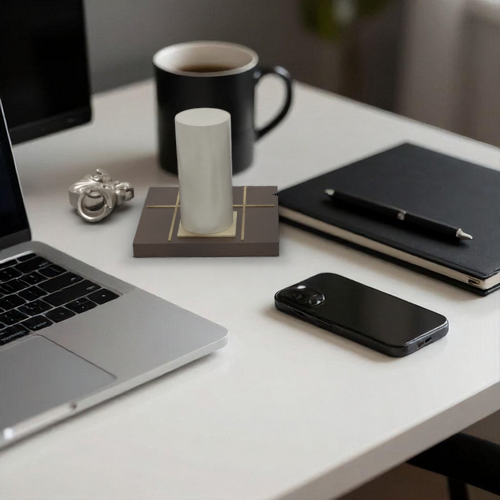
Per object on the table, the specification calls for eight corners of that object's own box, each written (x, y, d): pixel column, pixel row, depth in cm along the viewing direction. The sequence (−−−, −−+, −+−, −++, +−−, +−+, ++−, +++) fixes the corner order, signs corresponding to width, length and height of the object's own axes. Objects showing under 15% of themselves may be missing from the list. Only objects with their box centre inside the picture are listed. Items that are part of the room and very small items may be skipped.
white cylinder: (234, 211, 94) (231, 107, 89) (232, 234, 89) (229, 125, 84) (183, 212, 94) (177, 108, 89) (178, 234, 89) (172, 125, 84)
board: (277, 198, 101) (277, 183, 100) (279, 256, 88) (279, 240, 88) (149, 199, 101) (148, 185, 101) (133, 257, 89) (132, 241, 88)
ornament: (136, 221, 96) (134, 189, 94) (69, 226, 95) (65, 194, 94) (133, 192, 103) (131, 161, 102) (71, 196, 102) (68, 165, 101)
